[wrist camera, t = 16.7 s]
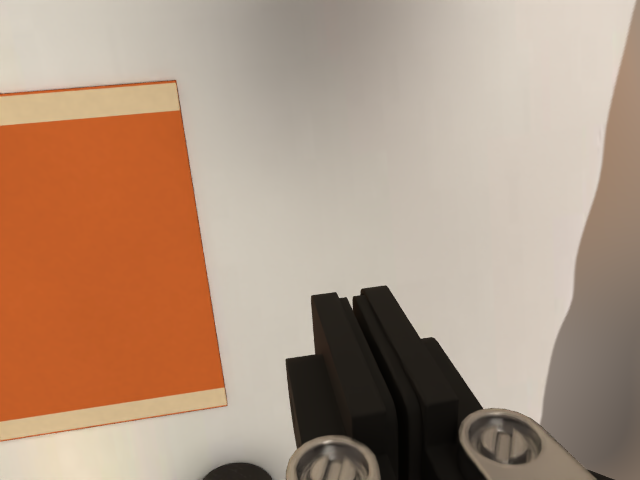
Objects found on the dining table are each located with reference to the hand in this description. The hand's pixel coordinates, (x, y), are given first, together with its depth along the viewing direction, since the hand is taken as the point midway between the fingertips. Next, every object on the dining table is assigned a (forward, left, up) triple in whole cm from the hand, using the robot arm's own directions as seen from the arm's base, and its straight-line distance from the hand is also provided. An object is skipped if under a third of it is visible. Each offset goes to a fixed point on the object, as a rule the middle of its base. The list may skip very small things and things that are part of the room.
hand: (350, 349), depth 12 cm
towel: (+9, -15, -27) cm, 32 cm away
